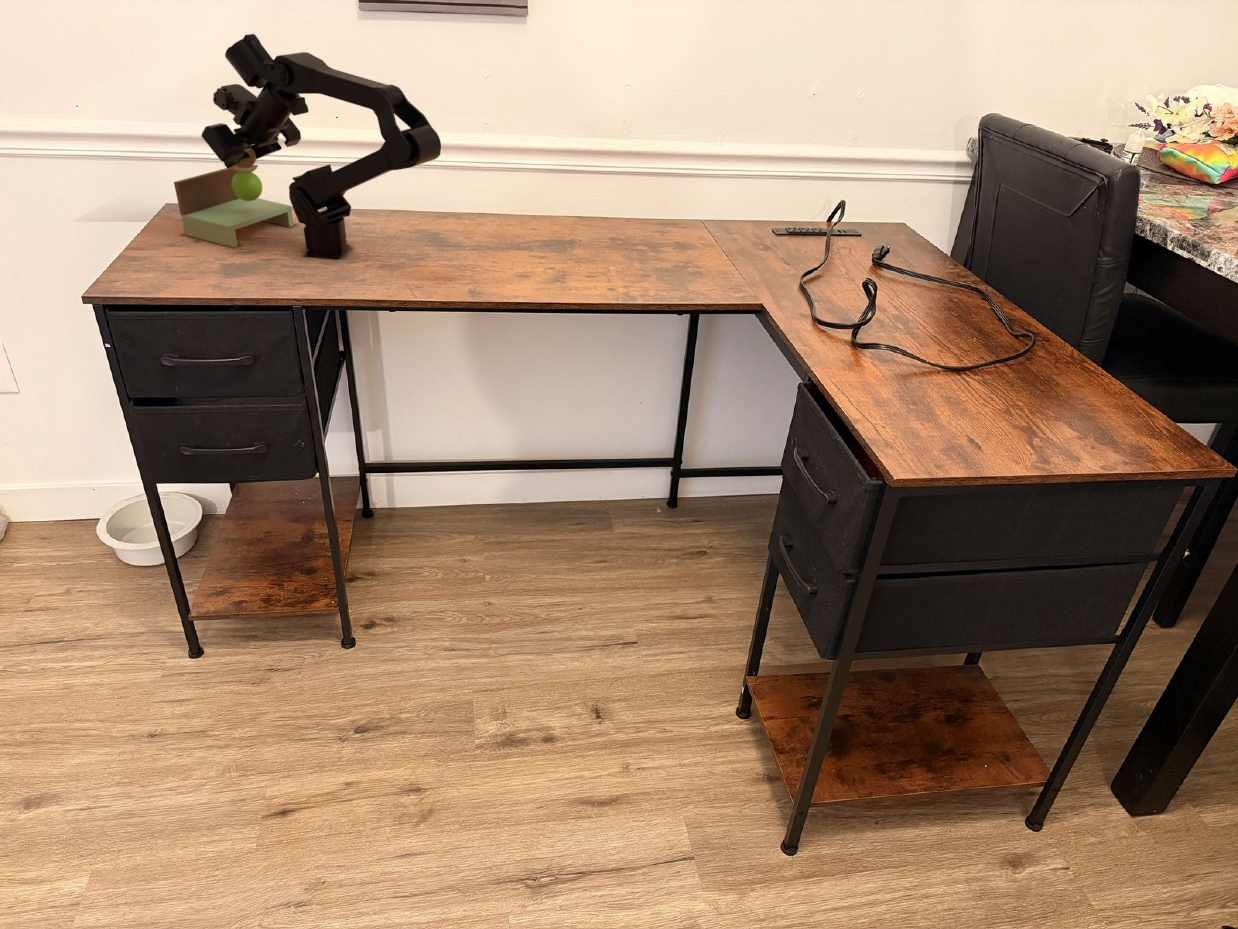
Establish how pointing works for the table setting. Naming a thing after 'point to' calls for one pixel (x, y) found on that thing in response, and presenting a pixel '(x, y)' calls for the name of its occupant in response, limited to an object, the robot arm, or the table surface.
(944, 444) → the table surface
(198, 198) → the bench with backrest
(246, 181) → the snail figurine
